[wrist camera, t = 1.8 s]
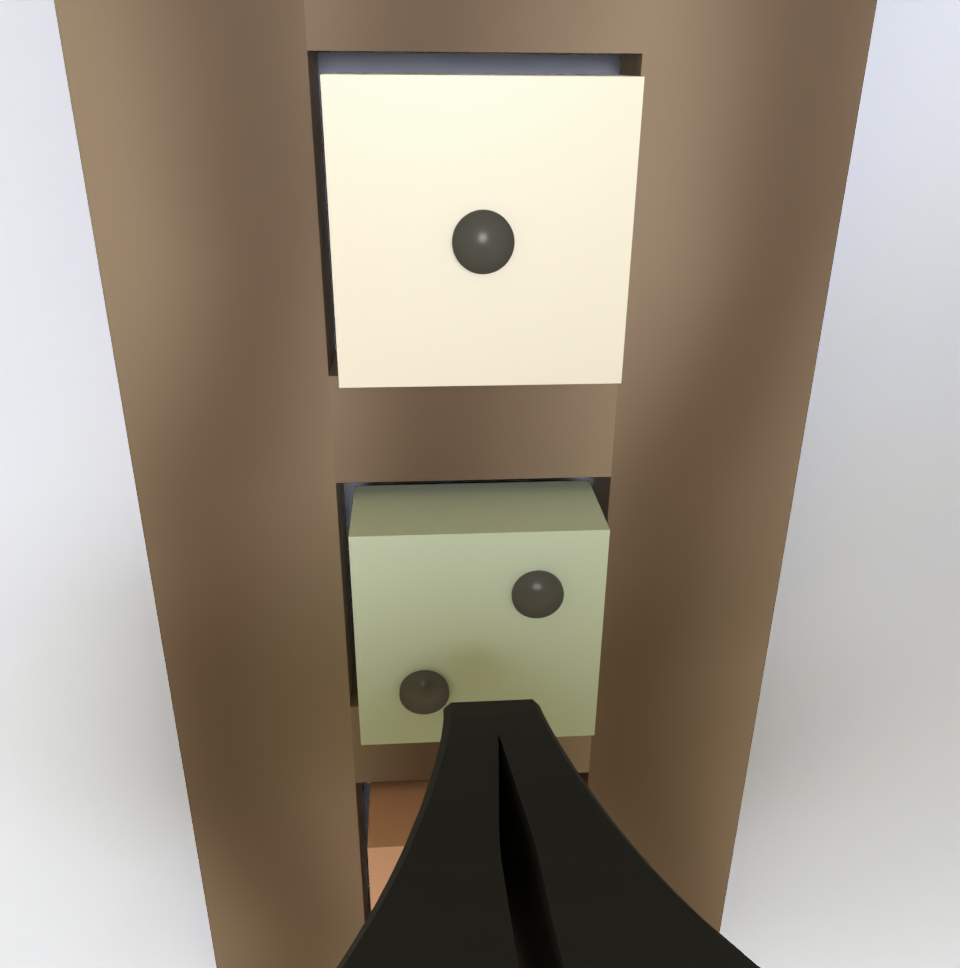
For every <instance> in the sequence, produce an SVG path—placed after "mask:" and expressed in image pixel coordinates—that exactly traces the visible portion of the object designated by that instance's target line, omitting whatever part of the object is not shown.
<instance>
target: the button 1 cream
mask: <svg viewBox="0 0 960 968" xmlns="http://www.w3.org/2000/svg"><path fill="white" fill-rule="evenodd" d="M644 79H645V77H642V76H626V75H571V74H430V73H326V74H320V82H321V98H322V115H323V131H324V147H325V164H326V180H327V196H328V213H329V229H330V245H331V262H332V278H333V295H334V311H335V327H336V344H337V360H338V376H339V388H363V387H426V386H488V385H551V384H613V383H621V380H622V367H623V354H624V341H625V328H626V315H627V301H628V288H629V275H630V262H631V249H632V236H633V223H634V210H635V197H636V184H637V170H638V157H639V144H640V131H641V118H642V105H643V92H644Z"/></svg>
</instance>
